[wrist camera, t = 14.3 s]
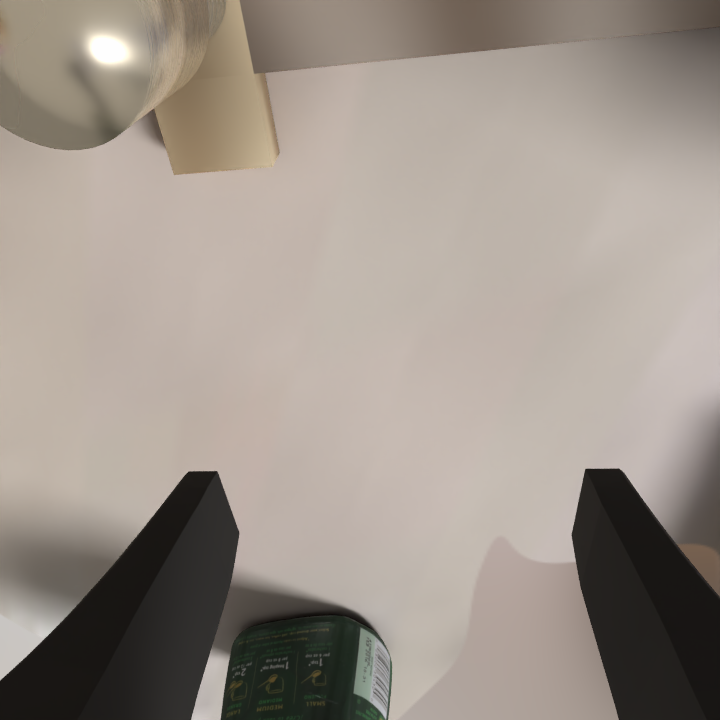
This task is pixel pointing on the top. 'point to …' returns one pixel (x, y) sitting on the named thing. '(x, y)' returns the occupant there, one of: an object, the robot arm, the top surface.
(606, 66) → the top surface
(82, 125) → the stepped metal cylinder
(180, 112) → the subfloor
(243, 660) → the coffee jar
